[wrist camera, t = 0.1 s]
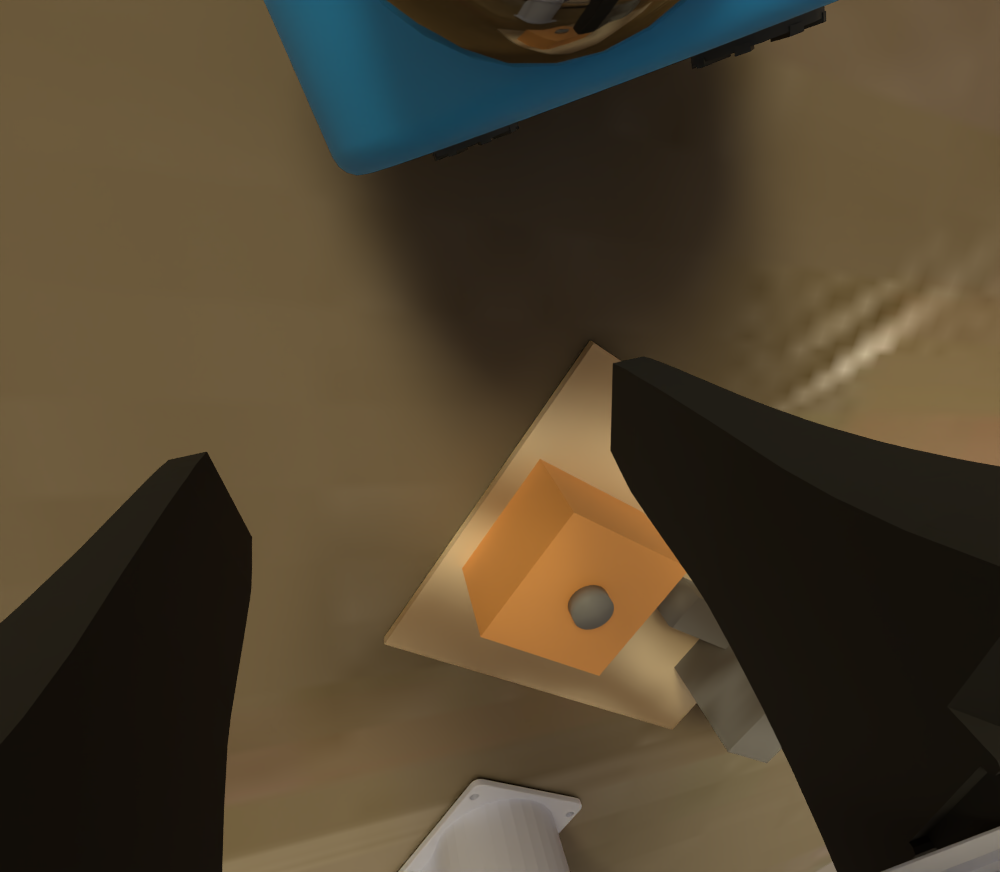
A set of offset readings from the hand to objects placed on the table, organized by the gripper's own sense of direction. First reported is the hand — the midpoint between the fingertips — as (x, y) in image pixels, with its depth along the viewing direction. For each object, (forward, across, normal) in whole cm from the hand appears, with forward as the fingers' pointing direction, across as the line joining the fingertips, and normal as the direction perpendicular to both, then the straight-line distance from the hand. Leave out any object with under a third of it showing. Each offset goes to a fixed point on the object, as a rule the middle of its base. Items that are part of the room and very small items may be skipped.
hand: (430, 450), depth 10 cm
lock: (+8, -5, +12) cm, 16 cm away
